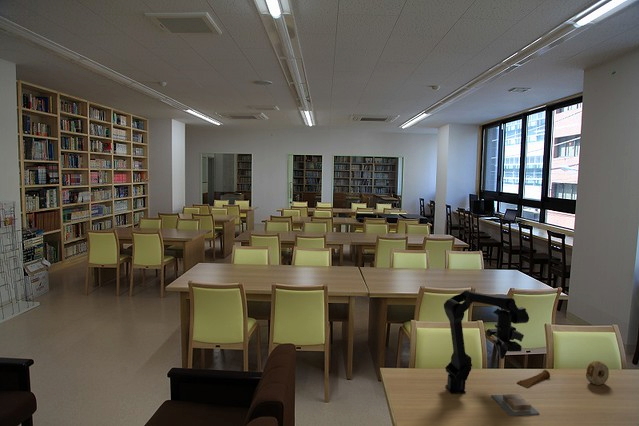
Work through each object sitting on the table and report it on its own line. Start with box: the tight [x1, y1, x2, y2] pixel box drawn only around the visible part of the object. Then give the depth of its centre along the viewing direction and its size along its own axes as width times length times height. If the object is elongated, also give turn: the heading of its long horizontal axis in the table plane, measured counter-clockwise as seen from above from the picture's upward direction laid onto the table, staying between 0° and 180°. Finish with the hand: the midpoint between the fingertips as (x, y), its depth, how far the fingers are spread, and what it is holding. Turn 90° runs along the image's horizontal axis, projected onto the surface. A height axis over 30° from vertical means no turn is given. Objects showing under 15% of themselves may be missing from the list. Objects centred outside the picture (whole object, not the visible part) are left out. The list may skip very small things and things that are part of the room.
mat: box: [490, 394, 541, 417], centre depth 166 cm, size 12×14×1 cm
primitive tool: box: [516, 369, 551, 389], centre depth 187 cm, size 19×6×4 cm, turn 123°
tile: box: [502, 393, 532, 412], centre depth 165 cm, size 7×2×8 cm
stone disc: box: [585, 360, 610, 386], centre depth 185 cm, size 10×4×10 cm, turn 104°
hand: (501, 358), depth 181 cm, fingers closed
